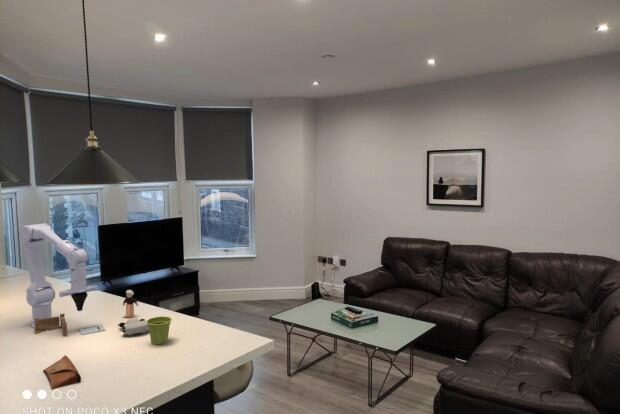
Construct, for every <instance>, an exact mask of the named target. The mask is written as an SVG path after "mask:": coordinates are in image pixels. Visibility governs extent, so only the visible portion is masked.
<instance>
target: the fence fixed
mask: <svg viewBox="0 0 620 414" xmlns="http://www.w3.org/2000/svg"><path fill="white" fill-rule="evenodd" d="M53 329H54V330H58V329H59V330H62V327H61V324H60V315H59V316H52V317H51V318H45V319H39V318H36V319H35V328H33V330H34V335H37V334H38V333H39V334H41V333H42V332H47V331H46V330H48V331H52V330H53ZM41 331H42V332H41Z"/></svg>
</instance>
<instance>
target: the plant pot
mask: <svg viewBox="0 0 620 414" xmlns="http://www.w3.org/2000/svg"><path fill="white" fill-rule="evenodd" d="M172 320H173V319H172V317H170V316H165V315H164V316H163V315H162V316H160V315H159V316H155V317H150V318H148V319H147V320H145V321H146V323H147V324H148V327H149V330H148V331H149V332H148V333H149V337H150V343H151V344H152V345H159V344H160V345H161V344H162V345H163V344H164V345H165V344H166V343H167V342H168V341H169V332H170V325H171V322H172Z"/></svg>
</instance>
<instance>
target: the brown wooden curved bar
mask: <svg viewBox="0 0 620 414" xmlns="http://www.w3.org/2000/svg"><path fill="white" fill-rule="evenodd" d="M59 324H60V326H61V327H62V329H61V330H62V335H63V336H64V335H65V336H66V335H67V334H68V325H67V324H68V323H67V321H66V318H65V313H60V314H59Z"/></svg>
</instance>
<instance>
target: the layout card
mask: <svg viewBox="0 0 620 414" xmlns="http://www.w3.org/2000/svg"><path fill="white" fill-rule="evenodd" d="M78 331H79V332H80V335H81V336H83V335H89V334H95V333H100V332H106V329H105V327H104V325H103V324H102V323H100V324H93V325H87V326H84V327H83V326H82V327H78Z"/></svg>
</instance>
